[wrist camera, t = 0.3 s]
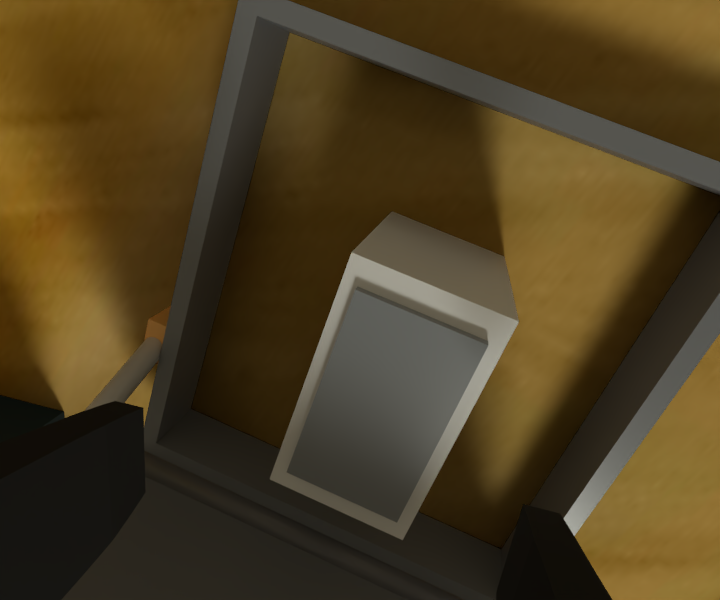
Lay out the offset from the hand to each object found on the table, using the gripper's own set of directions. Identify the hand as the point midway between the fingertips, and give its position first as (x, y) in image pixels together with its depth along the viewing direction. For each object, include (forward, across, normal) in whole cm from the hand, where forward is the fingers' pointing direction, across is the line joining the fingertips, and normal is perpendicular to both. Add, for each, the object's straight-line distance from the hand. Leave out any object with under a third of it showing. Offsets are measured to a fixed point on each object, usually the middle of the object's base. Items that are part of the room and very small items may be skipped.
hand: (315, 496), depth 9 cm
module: (+10, 0, 0) cm, 10 cm away
